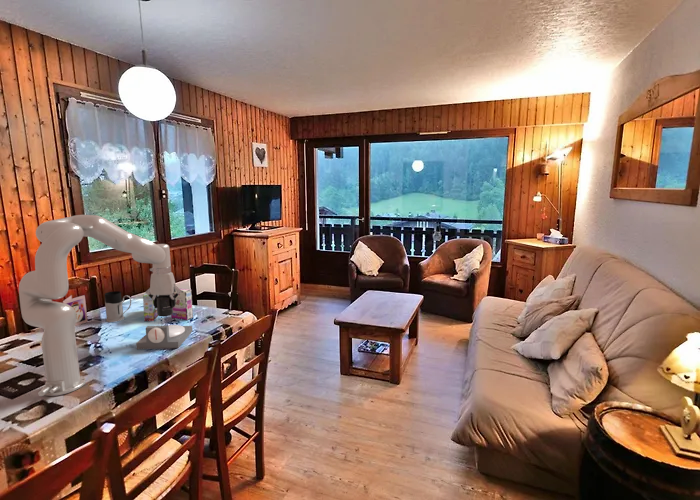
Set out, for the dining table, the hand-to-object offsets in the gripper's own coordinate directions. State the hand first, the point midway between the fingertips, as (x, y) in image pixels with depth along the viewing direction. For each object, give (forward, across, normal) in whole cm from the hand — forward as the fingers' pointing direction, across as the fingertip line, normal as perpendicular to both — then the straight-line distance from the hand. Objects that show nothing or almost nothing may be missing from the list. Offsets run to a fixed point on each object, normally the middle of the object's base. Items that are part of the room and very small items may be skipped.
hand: (164, 306), depth 173 cm
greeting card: (+16, -56, +23) cm, 63 cm away
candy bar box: (+16, -3, +30) cm, 34 cm away
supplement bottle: (+4, 0, 0) cm, 4 cm away
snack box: (+17, -20, +36) cm, 44 cm away
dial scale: (+16, 0, -1) cm, 16 cm away
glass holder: (+16, -36, +30) cm, 50 cm away
